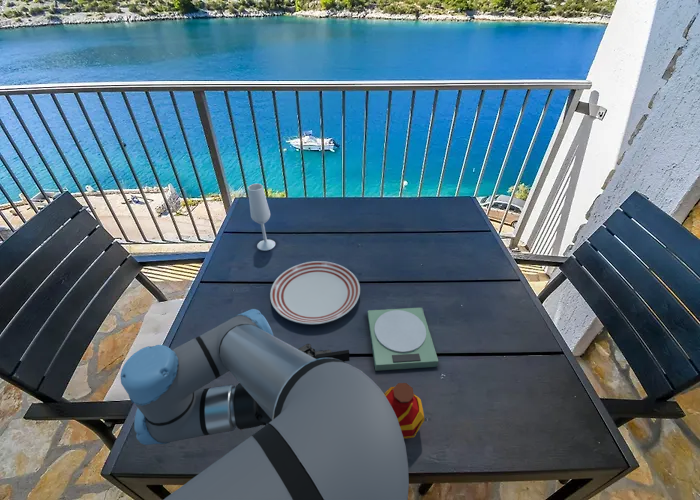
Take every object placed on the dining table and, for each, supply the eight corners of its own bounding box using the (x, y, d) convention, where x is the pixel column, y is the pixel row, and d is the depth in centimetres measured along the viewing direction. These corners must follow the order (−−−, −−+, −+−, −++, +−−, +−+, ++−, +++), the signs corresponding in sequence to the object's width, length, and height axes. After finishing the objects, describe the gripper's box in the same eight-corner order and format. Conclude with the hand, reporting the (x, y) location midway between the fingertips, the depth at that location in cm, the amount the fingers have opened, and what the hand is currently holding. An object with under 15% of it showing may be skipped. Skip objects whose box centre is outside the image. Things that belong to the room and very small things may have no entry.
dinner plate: (265, 276, 115) (264, 269, 113) (344, 260, 122) (344, 252, 120) (279, 342, 95) (277, 334, 93) (372, 318, 102) (373, 310, 100)
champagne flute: (278, 240, 131) (269, 183, 116) (271, 251, 126) (260, 193, 111) (261, 238, 132) (250, 181, 117) (253, 249, 127) (241, 190, 112)
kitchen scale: (437, 366, 89) (438, 359, 87) (375, 370, 88) (375, 363, 86) (420, 313, 103) (422, 306, 101) (367, 316, 102) (367, 309, 100)
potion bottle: (415, 459, 72) (424, 426, 63) (367, 441, 75) (370, 406, 66) (425, 413, 80) (435, 377, 71) (381, 397, 83) (385, 361, 73)
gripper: (244, 357, 73) (344, 343, 76) (235, 496, 54) (369, 469, 57) (237, 335, 68) (344, 320, 71) (224, 478, 49) (371, 450, 52)
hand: (355, 386), depth 64 cm, fingers open, 13 cm apart
